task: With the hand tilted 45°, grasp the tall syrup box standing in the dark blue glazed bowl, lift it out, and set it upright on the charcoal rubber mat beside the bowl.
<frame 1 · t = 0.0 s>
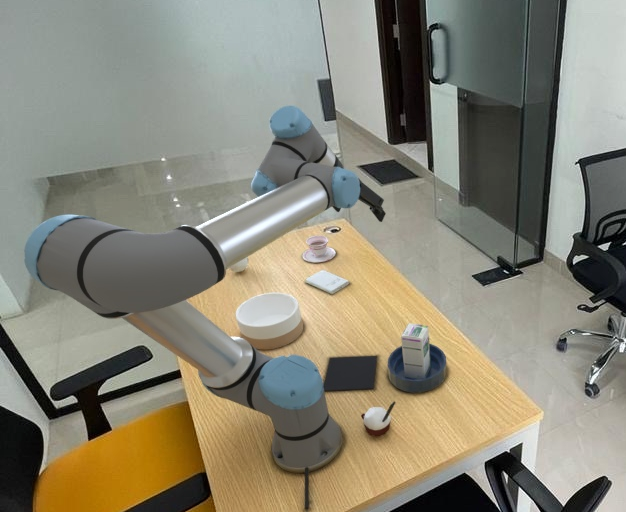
hand: (361, 212, 134), 36 cm above the table, tool tilted 35°, fingers open, 13 cm apart
serving bowl: (417, 373, 136), on the table
syrup box: (417, 372, 135), resting on serving bowl
cocoa: (379, 432, 119), on the table
hard drive: (327, 284, 171), on the table
teacup: (319, 255, 186), on the table
mat: (351, 373, 135), on the table
bowl: (273, 331, 148), on the table
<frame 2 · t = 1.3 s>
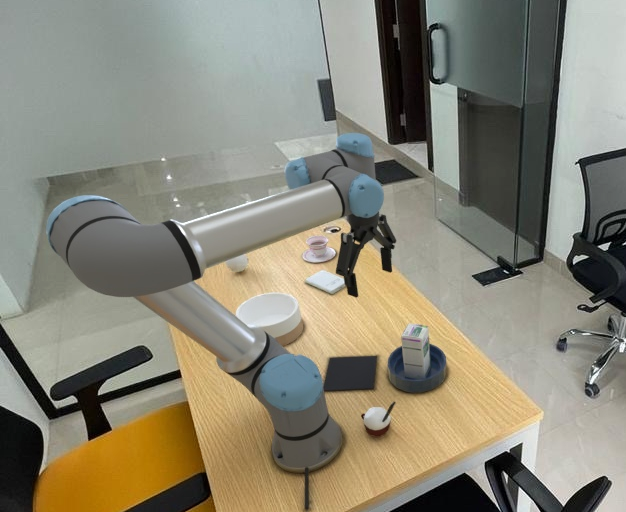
hand: (370, 282, 126), 25 cm above the table, tool pointing down, fingers open, 13 cm apart
nothing on the table moved.
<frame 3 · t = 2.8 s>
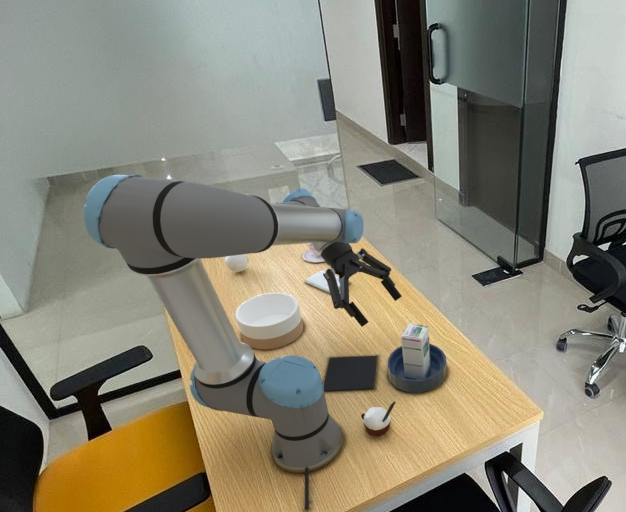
hand: (382, 311, 130), 17 cm above the table, tool tilted 45°, fingers open, 13 cm apart
nothing on the table moved.
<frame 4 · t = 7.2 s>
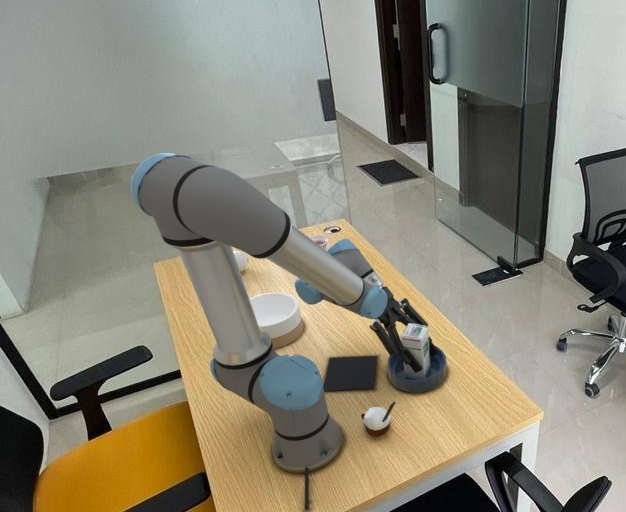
hand: (427, 362, 131), 6 cm above the table, tool tilted 45°, fingers closed on syrup box, 7 cm apart
syrup box: (417, 372, 135), resting on serving bowl, touching gripper
everything else where it was.
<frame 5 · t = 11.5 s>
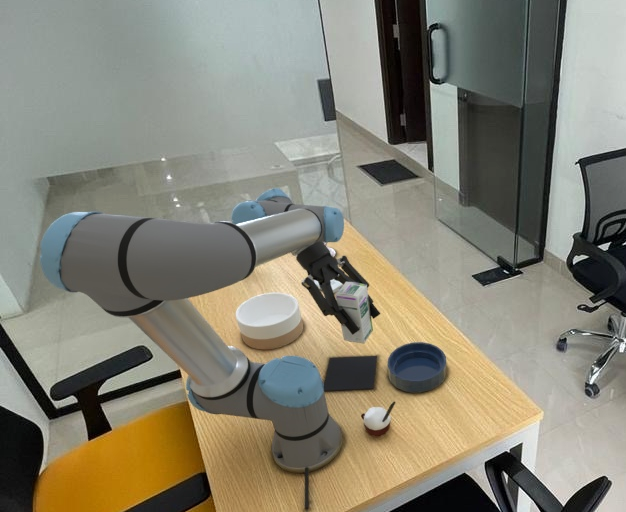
hand: (366, 324, 122), 18 cm above the table, tool tilted 45°, fingers closed on syrup box, 7 cm apart
syrup box: (358, 336, 127), point 13 cm above the table, touching gripper
everything else where it was.
when the fingers open (6 cm above the table, at t = 15.8 s): syrup box stays where it is, resting on mat.
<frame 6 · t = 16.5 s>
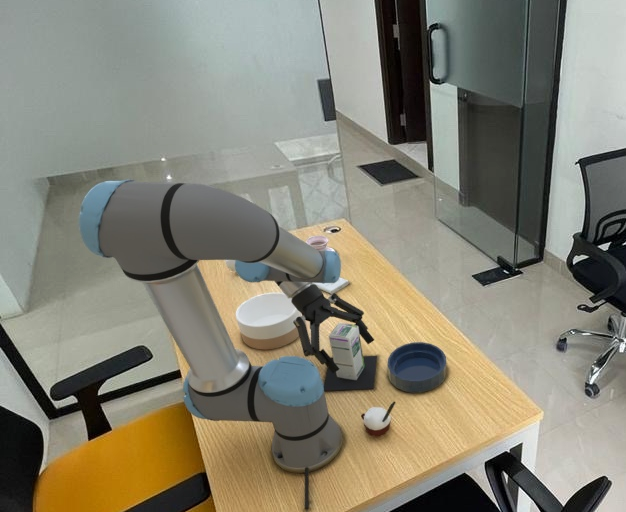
hand: (354, 356, 129), 7 cm above the table, tool tilted 45°, fingers open, 13 cm apart
syrup box: (350, 372, 135), resting on mat
everything else where it was.
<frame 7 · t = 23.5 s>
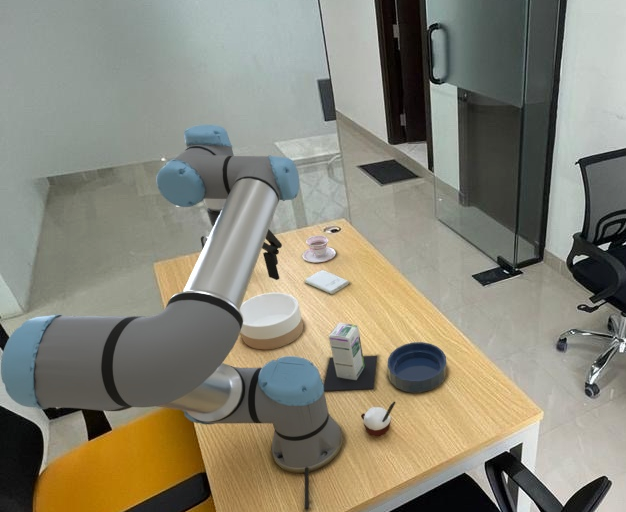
hand: (251, 291, 114), 29 cm above the table, tool pointing down, fingers open, 13 cm apart
nothing on the table moved.
at the end: syrup box inside the target area on the mat (0.1 cm from its centre), point 0.2 cm above the mat's base; syrup box tilted 0°; the gripper is holding nothing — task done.
